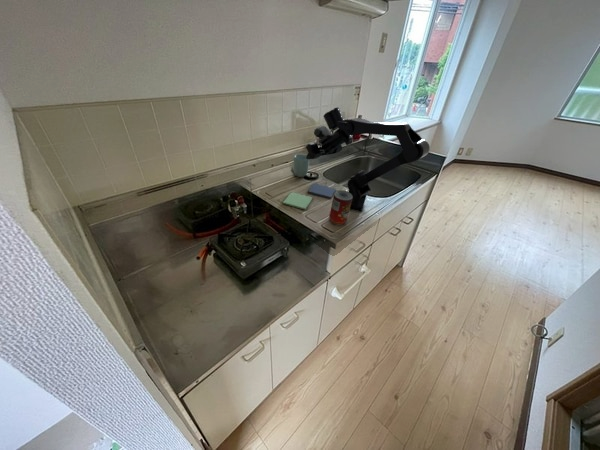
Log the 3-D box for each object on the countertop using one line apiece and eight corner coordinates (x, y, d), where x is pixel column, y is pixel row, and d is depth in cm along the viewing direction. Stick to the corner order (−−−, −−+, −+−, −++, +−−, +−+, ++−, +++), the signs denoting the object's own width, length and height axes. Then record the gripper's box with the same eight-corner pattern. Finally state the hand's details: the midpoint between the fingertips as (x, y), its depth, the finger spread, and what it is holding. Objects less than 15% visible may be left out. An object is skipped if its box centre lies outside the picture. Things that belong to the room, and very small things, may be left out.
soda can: (340, 228, 91) (347, 200, 84) (325, 220, 94) (330, 192, 87) (349, 220, 95) (356, 193, 88) (334, 213, 99) (340, 186, 91)
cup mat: (312, 199, 106) (312, 197, 106) (305, 210, 99) (305, 208, 98) (291, 193, 108) (291, 191, 108) (282, 203, 101) (282, 202, 100)
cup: (290, 176, 123) (291, 157, 117) (296, 170, 128) (297, 152, 122) (304, 180, 121) (306, 161, 115) (309, 174, 127) (311, 156, 121)
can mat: (335, 190, 115) (335, 188, 115) (330, 198, 108) (331, 197, 108) (313, 184, 117) (313, 183, 117) (308, 192, 111) (308, 191, 110)
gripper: (342, 119, 103) (320, 137, 116) (312, 123, 92) (291, 143, 105) (352, 143, 104) (329, 158, 116) (323, 150, 93) (301, 166, 105)
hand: (313, 156), depth 111 cm, fingers open, 9 cm apart
